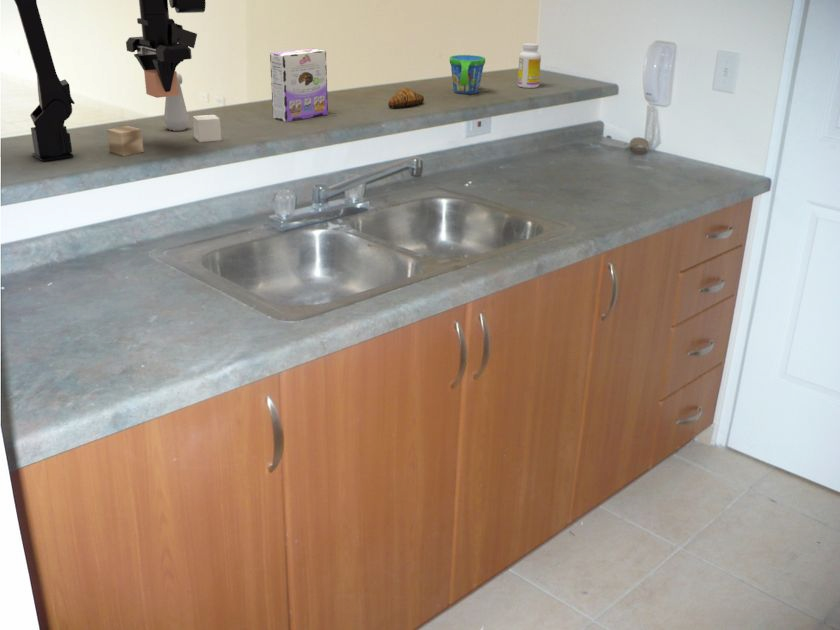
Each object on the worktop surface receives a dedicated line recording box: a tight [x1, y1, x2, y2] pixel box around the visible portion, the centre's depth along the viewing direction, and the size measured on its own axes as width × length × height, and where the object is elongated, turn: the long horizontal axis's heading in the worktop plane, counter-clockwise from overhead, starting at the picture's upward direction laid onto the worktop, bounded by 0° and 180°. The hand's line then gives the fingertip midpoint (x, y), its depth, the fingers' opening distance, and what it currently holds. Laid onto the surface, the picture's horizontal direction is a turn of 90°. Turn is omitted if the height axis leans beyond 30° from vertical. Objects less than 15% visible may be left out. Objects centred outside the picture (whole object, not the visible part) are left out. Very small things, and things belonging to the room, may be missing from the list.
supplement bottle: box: [517, 42, 542, 89], centre depth 273 cm, size 7×7×13 cm
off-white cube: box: [192, 114, 222, 143], centre depth 202 cm, size 5×5×5 cm
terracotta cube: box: [143, 69, 179, 99], centre depth 190 cm, size 5×5×5 cm
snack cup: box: [449, 54, 486, 95], centre depth 262 cm, size 16×10×10 cm
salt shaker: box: [163, 73, 190, 132], centre depth 209 cm, size 6×6×13 cm
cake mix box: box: [269, 47, 329, 123], centre depth 224 cm, size 14×6×16 cm, turn 134°
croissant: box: [387, 87, 425, 109], centre depth 243 cm, size 14×7×5 cm, turn 139°
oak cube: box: [106, 125, 145, 157], centre depth 190 cm, size 5×5×5 cm
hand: (162, 89), depth 190 cm, fingers closed on terracotta cube, 5 cm apart
